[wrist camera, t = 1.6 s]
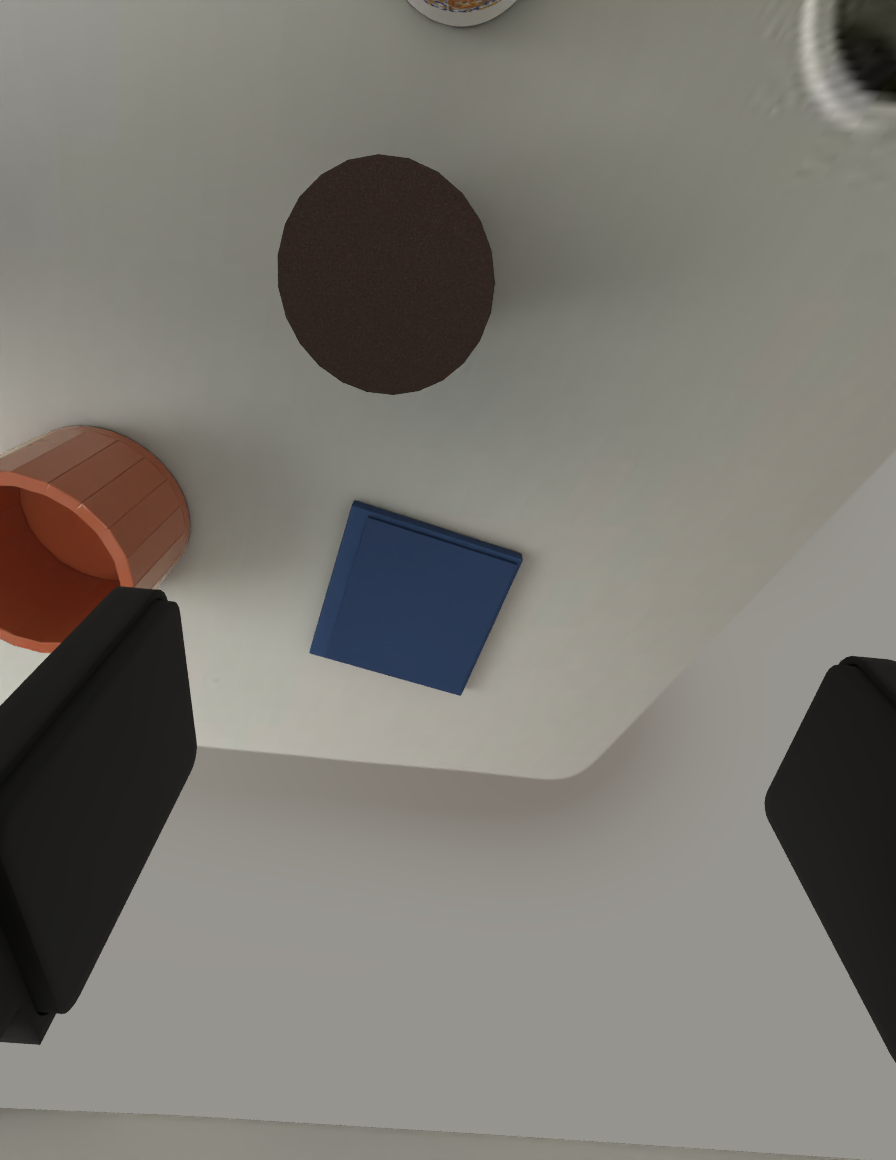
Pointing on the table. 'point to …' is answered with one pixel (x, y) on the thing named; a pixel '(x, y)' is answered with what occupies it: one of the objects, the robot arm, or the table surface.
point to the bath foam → (461, 10)
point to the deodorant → (386, 274)
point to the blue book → (412, 599)
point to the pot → (81, 529)
